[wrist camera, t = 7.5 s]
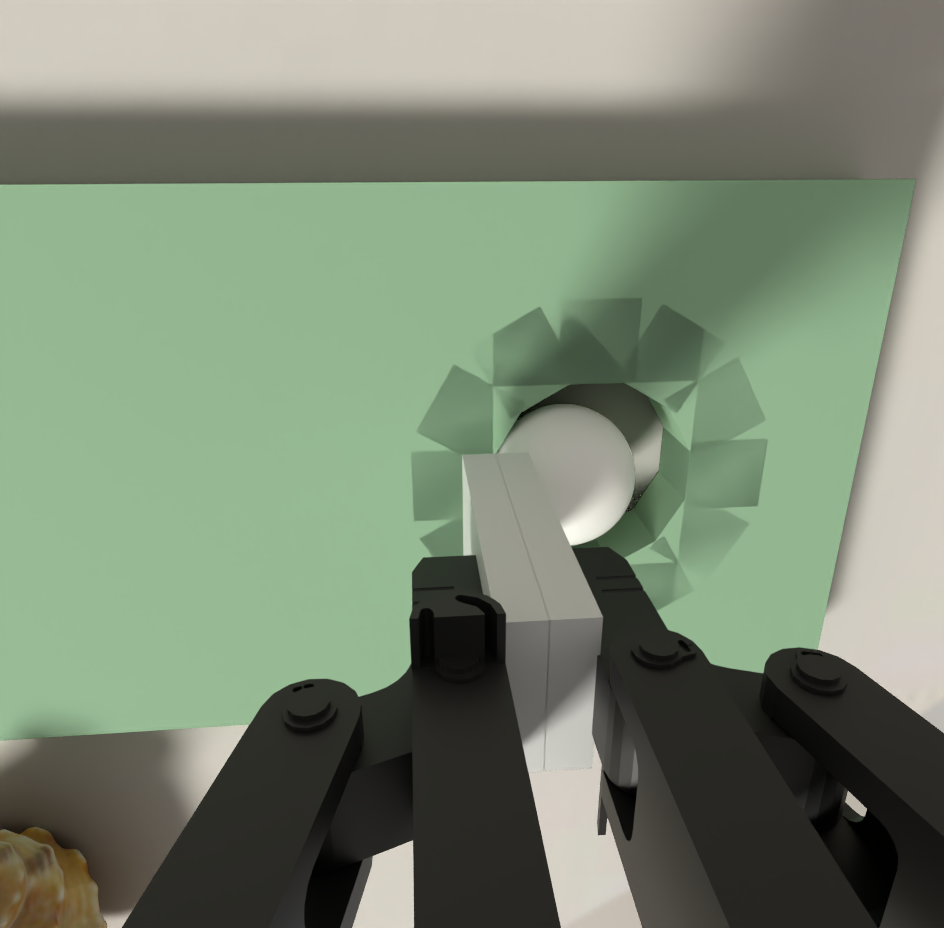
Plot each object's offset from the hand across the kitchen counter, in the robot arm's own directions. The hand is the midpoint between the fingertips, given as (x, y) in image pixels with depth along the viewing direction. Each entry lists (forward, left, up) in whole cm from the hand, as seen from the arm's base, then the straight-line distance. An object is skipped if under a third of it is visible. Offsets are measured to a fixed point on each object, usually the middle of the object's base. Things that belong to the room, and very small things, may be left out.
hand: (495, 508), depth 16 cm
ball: (+2, 0, -2) cm, 3 cm away
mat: (-4, 0, -4) cm, 6 cm away
